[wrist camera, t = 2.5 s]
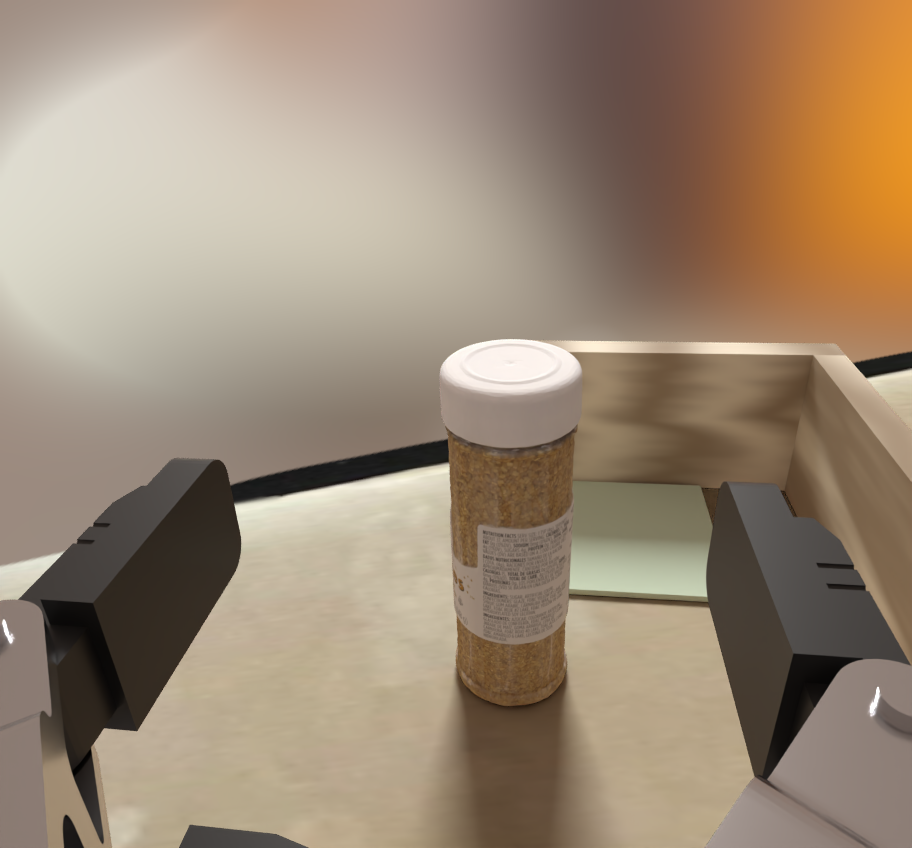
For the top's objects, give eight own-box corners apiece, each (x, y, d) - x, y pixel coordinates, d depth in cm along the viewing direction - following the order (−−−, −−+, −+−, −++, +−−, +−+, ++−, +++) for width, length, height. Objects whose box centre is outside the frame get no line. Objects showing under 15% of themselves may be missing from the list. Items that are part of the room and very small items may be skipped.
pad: (699, 490, 40) (700, 485, 39) (733, 603, 32) (734, 598, 32) (535, 483, 41) (535, 479, 41) (528, 591, 33) (528, 586, 33)
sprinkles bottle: (458, 625, 31) (442, 335, 25) (563, 626, 31) (576, 332, 25) (452, 713, 27) (433, 393, 21) (574, 714, 27) (592, 390, 21)
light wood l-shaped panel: (805, 476, 40) (835, 343, 36) (953, 748, 25) (1031, 568, 21) (502, 466, 42) (501, 340, 39) (468, 709, 27) (460, 540, 23)
